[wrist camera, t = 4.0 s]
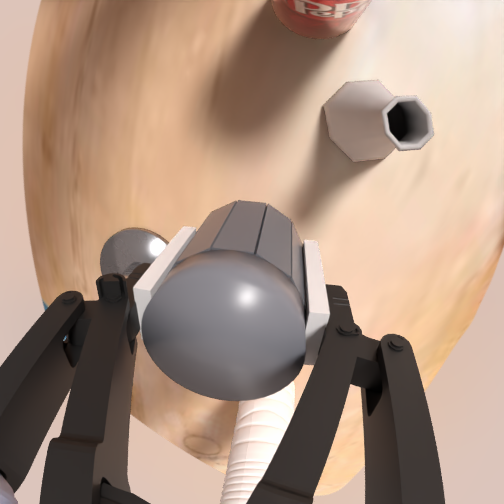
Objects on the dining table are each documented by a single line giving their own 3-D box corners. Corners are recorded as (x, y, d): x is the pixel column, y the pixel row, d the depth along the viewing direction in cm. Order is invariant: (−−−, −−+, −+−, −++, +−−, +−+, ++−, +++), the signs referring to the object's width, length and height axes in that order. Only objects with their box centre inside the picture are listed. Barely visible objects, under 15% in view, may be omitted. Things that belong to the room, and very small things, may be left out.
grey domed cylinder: (197, 196, 17) (131, 265, 10) (308, 207, 16) (321, 290, 9) (197, 289, 19) (152, 385, 12) (293, 301, 19) (291, 408, 12)
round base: (97, 223, 30) (65, 246, 24) (185, 232, 29) (162, 260, 24) (109, 303, 34) (85, 333, 29) (188, 317, 33) (171, 354, 28)
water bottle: (243, 398, 38) (208, 575, 15) (243, 365, 35) (199, 571, 13) (308, 402, 37) (303, 582, 15) (316, 369, 35) (316, 579, 12)
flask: (348, 175, 25) (379, 208, 16) (308, 100, 23) (320, 88, 14) (417, 142, 23) (477, 159, 14) (381, 67, 21) (429, 44, 12)
